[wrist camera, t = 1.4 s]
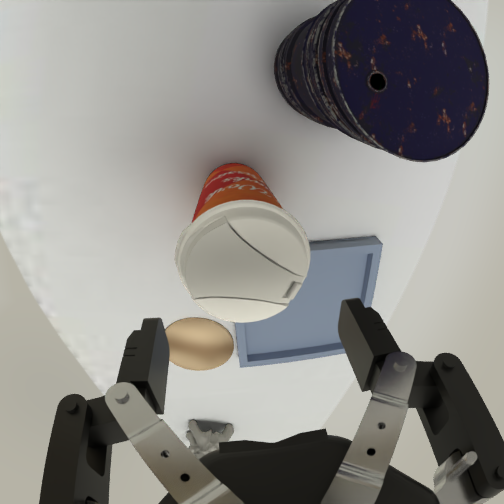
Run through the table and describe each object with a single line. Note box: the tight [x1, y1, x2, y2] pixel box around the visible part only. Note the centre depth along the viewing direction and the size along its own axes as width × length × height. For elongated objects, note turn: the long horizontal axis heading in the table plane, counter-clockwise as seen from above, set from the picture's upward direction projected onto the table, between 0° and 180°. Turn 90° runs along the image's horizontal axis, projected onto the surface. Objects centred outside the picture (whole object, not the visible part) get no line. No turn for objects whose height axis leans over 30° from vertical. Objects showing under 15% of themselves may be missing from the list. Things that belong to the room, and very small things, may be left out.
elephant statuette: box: [186, 420, 234, 459], centre depth 47 cm, size 9×12×8 cm
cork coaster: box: [165, 318, 234, 371], centre depth 38 cm, size 9×9×1 cm
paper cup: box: [175, 163, 310, 323], centre depth 23 cm, size 8×8×14 cm
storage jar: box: [274, 0, 489, 162], centre depth 18 cm, size 10×10×15 cm
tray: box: [235, 236, 383, 368], centre depth 36 cm, size 16×16×2 cm
